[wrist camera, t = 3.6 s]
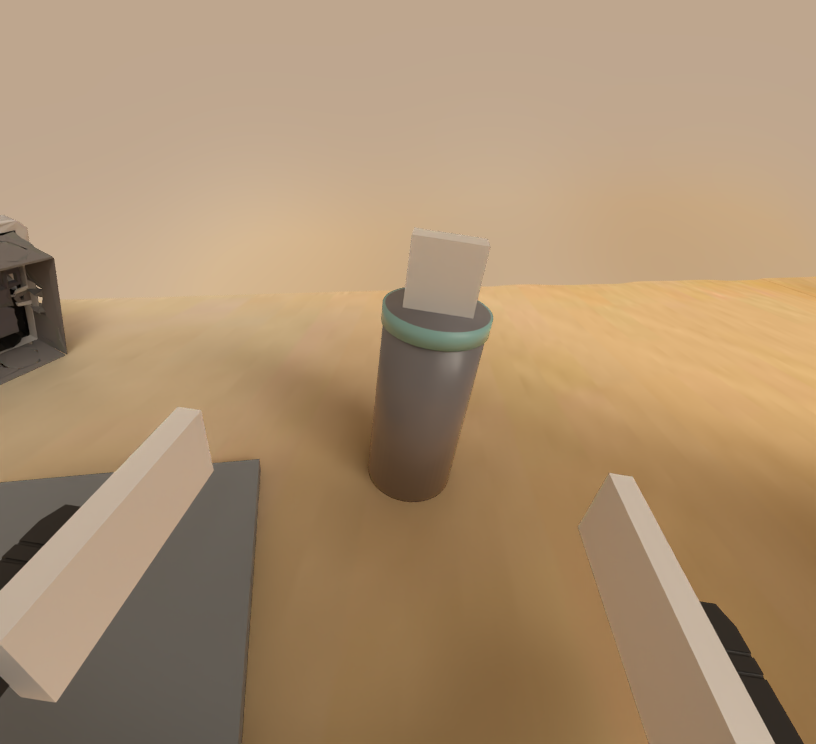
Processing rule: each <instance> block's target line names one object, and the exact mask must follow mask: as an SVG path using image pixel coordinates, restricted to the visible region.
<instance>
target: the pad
mask: <svg viewBox="0 0 816 744" xmlns="http://www.w3.org/2000/svg"><path fill="white" fill-rule="evenodd" d="M212 465H213V469H214V471H213V472H212V474H211V475H210V477H209V478H208V480H207V481H206V483H205V484H204V486H203V487H202V489H201V490H200V492H199V493H198V494H197V496H196V497H195V499H194V500H193V502H192V503H191V505H190V506H189V508H188V509H187V511H186V512H185V514H184V515H183V517H182V518H181V519H180V521H179V522H178V524H177V525H176V527H175V528H174V530H173V531H172V533H171V534H170V536H169V537H168V539H167V540H166V542H165V543H164V545H163V546H162V547H161V549H160V550H159V552H158V553H157V555H156V556H155V558H154V559H153V561H152V562H151V564H150V565H149V567H148V568H147V570H146V571H145V572H144V574H143V575H142V577H141V578H140V580H139V581H138V583H137V584H136V586H135V587H134V589H133V590H132V592H131V593H130V595H129V596H128V598H127V599H126V600H125V602H124V603H123V605H122V606H121V608H120V609H119V611H118V612H117V614H116V615H115V617H114V618H113V620H112V621H111V623H110V624H109V626H108V627H107V628H106V630H105V631H104V633H103V634H102V636H101V637H100V639H99V640H98V642H97V643H96V645H95V646H94V648H93V649H92V651H91V652H90V653H89V655H88V656H87V658H86V659H85V661H84V662H83V664H82V665H81V667H80V668H79V670H78V671H77V673H76V674H75V676H74V677H73V679H72V680H71V681H70V683H69V684H68V686H67V687H66V689H65V690H64V692H63V693H62V695H61V696H60V698H59V699H58V701H57V702H56V703H55V702H49V701H42V700H36V699H29V698H23V697H20V696H19V695H18V694H17V693H16V692H15V691H14V690H13V689H11V688H10V687H8V688H7V690H6V691H5V692H4V693H3V695H2V696H1V697H0V744H242V730H243V715H244V701H245V687H246V672H247V658H248V643H249V629H250V614H251V600H252V585H253V571H254V557H255V542H256V528H257V513H258V499H259V484H260V461H259V459H255V460H244V461H233V462H222V463H212ZM113 473H114V472H111V473H100V474H89V475H78V476H67V477H56V478H45V479H34V480H23V481H12V482H1V483H0V560H1V559H2V556H3V555H4V554H5V553H6V552H7V551H8V550H9V549H11V548H12V547H13V546H14V545H15V544H18V543H19V540H20V539H21V538H22V537H23V536H24V535H25V534H26V533H27V532H28V531H29V530H30V529H31V528H32V527H33V526H34V525H35V524H36V523H37V522H39V521H40V520H41V519H43V518H44V517H46V516H47V515H49V514H51V513H52V512H54V511H55V510H57V509H59V508H60V507H62V506H64V505H65V504H67V505H74V506H80V507H81V506H82V505H83V504H84V503H85V502H86V501H87V500H88V499H89V498H90V497H91V496H92V495H93V494H94V493H95V492H96V491H97V490H98V489H99V488H100V487H101V486H102V485H103V484H104V483H105V482H106V480H107V479H108V478H109V477H110V476H111V475H112V474H113Z"/></svg>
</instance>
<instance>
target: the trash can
mask: <svg viewBox="0 0 816 744" xmlns="http://www.w3.org/2000/svg"><path fill="white" fill-rule="evenodd" d="M489 250H490V244H489V241H488V239H485V238H478V237H472V236H465V235H458V234H452V233H446V232H440V231H433V230H427V229H420V228H414V230H413V233H412V238H411V246H410V254H409V261H408V269H407V277H406V284H405V288H400V289H396V290H394V291H391V292H390V293H388V294H387V295H386V296H385V297H384V299H383V306H382V316H381V321H382V324H383V329H382V338H381V348H380V358H379V368H378V377H377V387H376V397H375V406H374V416H373V426H372V436H371V445H370V455H369V465H368V470H369V475H370V478H371V480H372V481H373V483H374V484H375V486H376V487H377V488H378V489H379V490H380V491H382V492H383V493H384V494H386V495H388V496H390V497H392V498H394V499H397V500H401V501H407V502H419V501H425V500H428V499H431V498H433V497H435V496H436V495H438V494H439V493H440V492H441V491H442V490H443V489H444V488H445V486H446V484H447V481H448V477H449V473H450V470H451V466H452V462H453V458H454V455H455V451H456V447H457V443H458V440H459V436H460V432H461V429H462V425H463V421H464V417H465V414H466V410H467V406H468V402H469V399H470V395H471V391H472V387H473V384H474V380H475V376H476V372H477V369H478V365H479V361H480V357H481V354H482V350H483V346H484V343H485V342H486V341H487V339H488V336H489V333H490V329H491V325H492V322H493V315H492V312H491V311H490V310H489V309H488V307H486V306H485V305H484V304H483V303H481V302H480V301H478V296H479V292H480V288H481V283H482V279H483V275H484V271H485V267H486V263H487V258H488V254H489Z"/></svg>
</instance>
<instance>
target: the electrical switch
mask: <svg viewBox="0 0 816 744" xmlns="http://www.w3.org/2000/svg"><path fill="white" fill-rule="evenodd" d="M36 285H37V286H39V287H40V288H42V289H38V288H37V287H36ZM38 296H39V297H43V300H42V304H41V303H39V302H38ZM35 350H37V351H38V352H37V351H35ZM58 350H59V351H58ZM60 351H61V352H60ZM62 352H63V353H65V354H67V349H66V342H65V334H64V327H63V320H62V313H61V305H60V298H59V292H58V284H57V276H56V270H55V263H54V258H53V257H52V256H50V255H48V254H46V253H44V252H42V251H40V250H39V249H37V248H35V247H34V246H33V245H32V244H31V243H29V237H28V230H27V227H25V226H24V225H23V224H22V223H20V222H19V221H16V220H14V219H12V218H9V217H7V216H5V215H0V363H2V364H3V365H5V366H7V367H9V368H6V367H3V366H2V365H1V364H0V385H1V384H3V383H5V382H8V381H10V380H12V379H14V378H16V377H19V376H21V375H23V374H25V373H27V372H30V371H32V370H34V369H36V368H38V367H41V366H43V365H45V364H47V363H50V362H52V361H54V360H56V359H58V358H61V357H63V356H65V354H63V353H62ZM38 360H39V361H38ZM37 362H38V363H37ZM17 368H20V369H17Z"/></svg>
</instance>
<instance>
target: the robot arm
mask: <svg viewBox="0 0 816 744" xmlns="http://www.w3.org/2000/svg"><path fill="white" fill-rule="evenodd" d="M213 471H214V469H213V465H212V460H211V455H210V450H209V445H208V440H207V435H206V430H205V425H204V421H203V416H202V411H201V410H197V409H190V408H184V407H177V408H176V409H175V410H174V411H173V412H172V413H171V414H170V415H169V416H168V417H167V418H166V419H165V420H164V421H163V422H162V423H161V424H160V425H159V427H158V428H157V429H156V430H155V431H154V432H153V433H152V434H151V435H150V436H149V437H148V438H147V439H146V440H145V441H144V442H143V443H142V444H141V445H140V446H139V447H138V448H137V449H136V450H135V451H134V452H133V454H132V455H131V456H130V457H129V458H128V459H127V460H126V461H125V462H124V463H123V464H122V465H121V466H120V467H119V468H118V469H117V470H116V471H115V472H114V473H113V474H112V475H111V476H110V477H109V478H108V479H107V480H106V482H105V483H104V484H103V485H102V486H101V487H100V488H99V489H98V490H97V491H96V492H95V493H94V494H93V495H92V496H91V497H90V498H89V499H88V500H87V501H86V502H85V503H84V504H83V505H82V506H81V507H80V506H74V505H67V504H65V505H64V506H62V507H60V508H59V509H57V510H55V511H54V512H52V513H51V514H49V515H47V516H46V517H44V518H43V519H41V520H40V521H39V522H37V523H36V524H35V525H34V526H33V527H32V528H31V529H30V530H29V531H28V532H27V533H26V534H25V535H24V536H23V537H22V538H21V539H20V540H19V543H18V544H15V545H14V546H13V547H12V548H11V549H9V550H8V551H7V552H6V553H5V554H4V555H3V556H2V559H1V560H0V697H1V696H2V695H3V693H4V692H5V691H6V690H7V688H8V687H10V688H11V689H13V690H14V691H15V692H16V693H17V694H18V695H19V696H20V697H23V698H29V699H36V700H42V701H49V702H55V703H56V702H57V701H58V699H59V698H60V696H61V695H62V693H63V692H64V690H65V689H66V687H67V686H68V684H69V683H70V681H71V680H72V679H73V677H74V676H75V674H76V673H77V671H78V670H79V668H80V667H81V665H82V664H83V662H84V661H85V659H86V658H87V656H88V655H89V653H90V652H91V651H92V649H93V648H94V646H95V645H96V643H97V642H98V640H99V639H100V637H101V636H102V634H103V633H104V631H105V630H106V628H107V627H108V626H109V624H110V623H111V621H112V620H113V618H114V617H115V615H116V614H117V612H118V611H119V609H120V608H121V606H122V605H123V603H124V602H125V600H126V599H127V598H128V596H129V595H130V593H131V592H132V590H133V589H134V587H135V586H136V584H137V583H138V581H139V580H140V578H141V577H142V575H143V574H144V572H145V571H146V570H147V568H148V567H149V565H150V564H151V562H152V561H153V559H154V558H155V556H156V555H157V553H158V552H159V550H160V549H161V547H162V546H163V545H164V543H165V542H166V540H167V539H168V537H169V536H170V534H171V533H172V531H173V530H174V528H175V527H176V525H177V524H178V522H179V521H180V519H181V518H182V517H183V515H184V514H185V512H186V511H187V509H188V508H189V506H190V505H191V503H192V502H193V500H194V499H195V497H196V496H197V494H198V493H199V492H200V490H201V489H202V487H203V486H204V484H205V483H206V481H207V480H208V478H209V477H210V475H211V474H212V472H213ZM578 529H579V532H580V535H581V538H582V541H583V545H584V548H585V551H586V554H587V557H588V560H589V563H590V566H591V569H592V572H593V575H594V578H595V581H596V584H597V587H598V590H599V593H600V596H601V599H602V602H603V606H604V609H605V612H606V615H607V618H608V621H609V624H610V627H611V630H612V633H613V636H614V639H615V642H616V645H617V648H618V651H619V654H620V657H621V660H622V663H623V667H624V670H625V673H626V676H627V679H628V682H629V685H630V688H631V691H632V694H633V697H634V700H635V703H636V706H637V709H638V712H639V715H640V718H641V721H642V725H643V728H644V731H645V734H646V737H647V740H648V743H649V744H804V743H803V742H802V740H801V738H800V736H799V735H798V733H797V731H796V730H795V728H794V726H793V724H792V723H791V721H790V719H789V718H788V716H787V714H786V712H785V711H784V709H783V707H782V705H781V704H780V702H779V700H778V699H777V697H776V695H775V693H774V692H773V690H772V688H771V686H770V685H769V683H768V681H767V680H765V679H764V678H763V673H762V671H761V669H760V667H759V666H758V664H757V662H756V661H755V659H754V658H752V657H751V652H750V650H749V648H748V647H747V645H746V643H745V642H744V640H743V638H742V636H741V635H740V633H739V631H738V629H737V628H736V626H735V625H734V624H733V623H732V622H731V621H730V620H729V619H728V617H727V616H726V615H725V614H724V613H723V612H722V611H721V610H720V608H719V607H718V606H717V605H716V604H713V603H706V602H700V601H699V600H698V598H697V596H696V594H695V592H694V590H693V589H692V587H691V585H690V583H689V581H688V579H687V577H686V575H685V574H684V572H683V570H682V568H681V566H680V564H679V562H678V560H677V559H676V557H675V555H674V553H673V551H672V549H671V547H670V545H669V544H668V542H667V540H666V538H665V536H664V534H663V532H662V530H661V529H660V527H659V525H658V523H657V521H656V519H655V517H654V515H653V514H652V512H651V510H650V508H649V506H648V504H647V502H646V500H645V499H644V497H643V495H642V493H641V491H640V489H639V487H638V485H637V483H636V482H635V480H634V478H633V477H632V476H626V475H619V474H613V473H609V474H608V475H607V477H606V479H605V481H604V482H603V484H602V486H601V488H600V489H599V491H598V493H597V494H596V496H595V498H594V500H593V501H592V503H591V505H590V506H589V508H588V510H587V512H586V513H585V515H584V517H583V518H582V520H581V522H580V524H579V525H578Z"/></svg>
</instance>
